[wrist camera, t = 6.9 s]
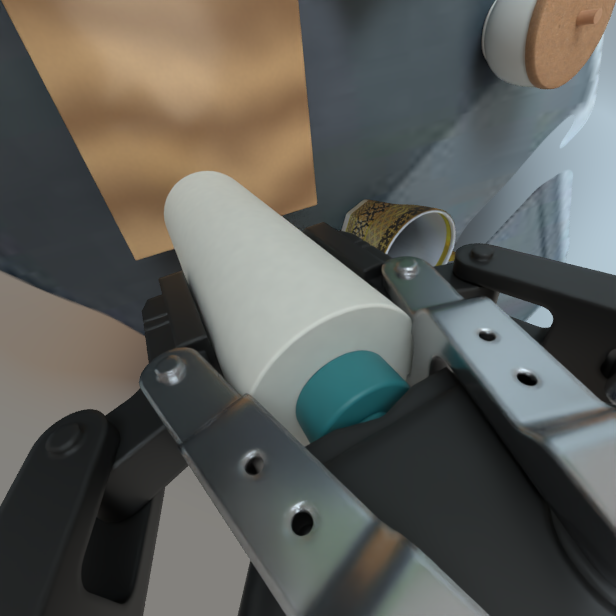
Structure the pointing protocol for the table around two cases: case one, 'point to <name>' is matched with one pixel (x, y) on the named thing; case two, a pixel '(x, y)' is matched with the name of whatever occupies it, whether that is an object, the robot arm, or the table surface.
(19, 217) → the table surface
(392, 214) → the ceramic cup
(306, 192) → the cabinet
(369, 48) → the table surface
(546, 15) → the trinket box
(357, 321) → the lotion bottle
